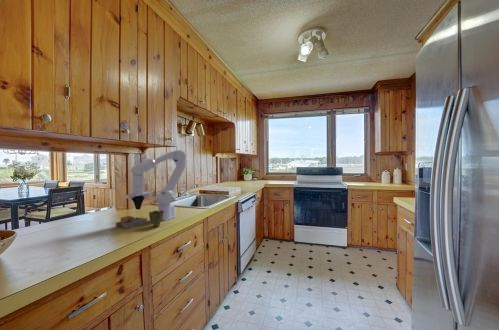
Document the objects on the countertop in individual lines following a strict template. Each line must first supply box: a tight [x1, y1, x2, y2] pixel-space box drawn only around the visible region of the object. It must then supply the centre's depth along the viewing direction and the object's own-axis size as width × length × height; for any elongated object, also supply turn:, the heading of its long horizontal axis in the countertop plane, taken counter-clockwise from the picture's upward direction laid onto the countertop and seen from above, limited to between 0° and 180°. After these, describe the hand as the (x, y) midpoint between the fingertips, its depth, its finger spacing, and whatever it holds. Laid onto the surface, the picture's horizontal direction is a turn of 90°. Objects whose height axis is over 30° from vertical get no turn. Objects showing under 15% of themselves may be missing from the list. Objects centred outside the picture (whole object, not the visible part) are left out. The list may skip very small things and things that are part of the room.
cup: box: [148, 209, 164, 228], centre depth 120 cm, size 8×7×8 cm
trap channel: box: [115, 216, 148, 230], centre depth 123 cm, size 14×8×2 cm, turn 157°
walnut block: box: [120, 215, 135, 228], centre depth 120 cm, size 4×4×5 cm
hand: (138, 209), depth 126 cm, fingers closed
